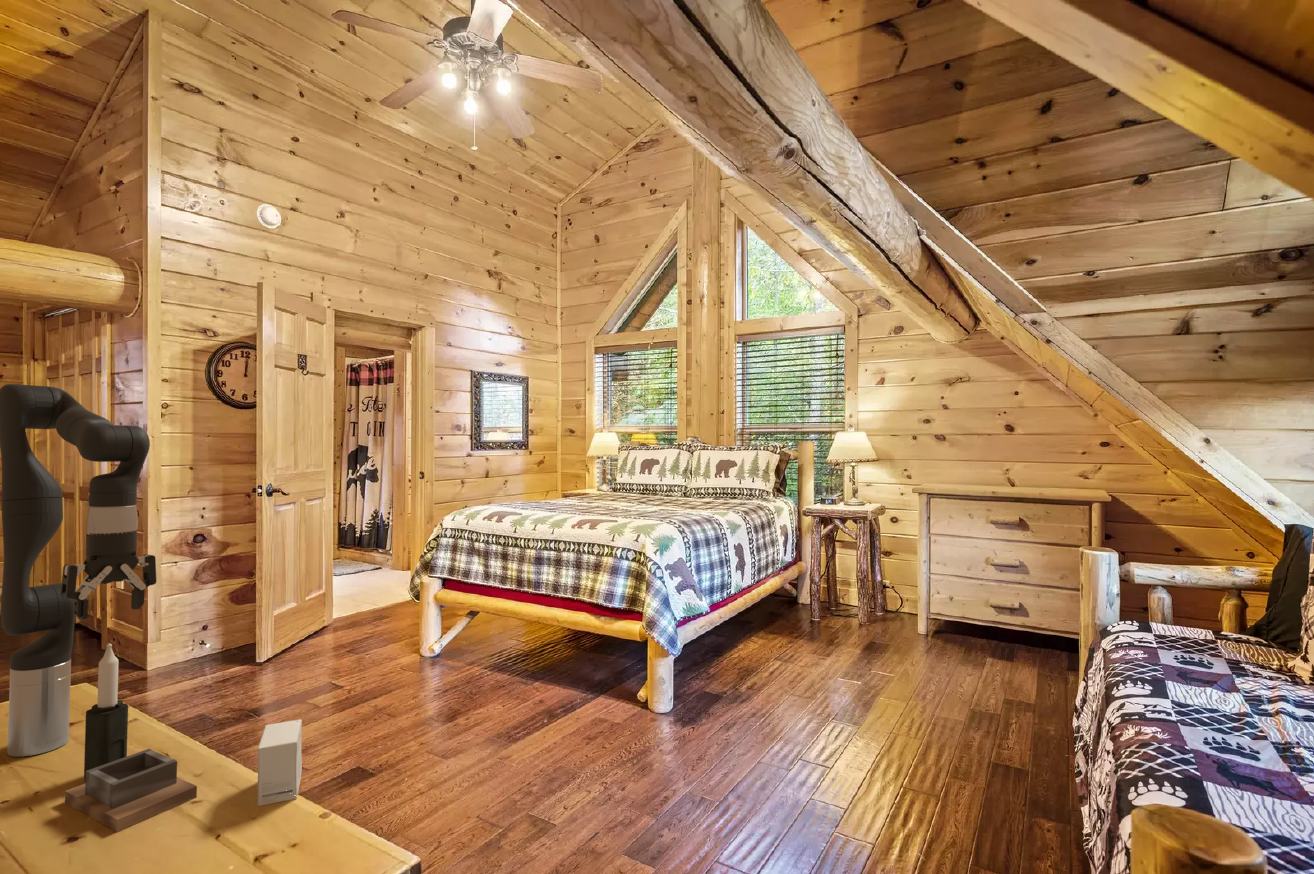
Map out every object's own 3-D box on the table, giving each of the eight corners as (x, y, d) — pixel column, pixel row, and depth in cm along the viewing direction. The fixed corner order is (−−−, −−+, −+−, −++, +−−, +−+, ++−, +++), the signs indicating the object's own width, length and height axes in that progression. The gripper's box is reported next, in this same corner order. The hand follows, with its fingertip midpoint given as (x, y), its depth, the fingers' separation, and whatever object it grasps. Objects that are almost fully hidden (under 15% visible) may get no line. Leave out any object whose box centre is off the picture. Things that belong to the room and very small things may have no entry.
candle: (102, 783, 121) (106, 648, 121) (80, 779, 122) (84, 646, 122) (129, 770, 126) (133, 640, 126) (108, 766, 127) (112, 638, 127)
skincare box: (263, 778, 124) (265, 723, 124) (302, 772, 127) (303, 718, 127) (255, 807, 114) (256, 747, 115) (296, 799, 117) (298, 740, 117)
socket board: (64, 802, 115) (65, 767, 115) (143, 772, 125) (144, 740, 125) (116, 831, 106) (118, 794, 106) (196, 797, 117) (197, 763, 117)
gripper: (144, 523, 133) (142, 603, 132) (55, 531, 120) (52, 619, 120) (164, 526, 129) (162, 608, 129) (75, 535, 116) (72, 625, 116)
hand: (109, 613), depth 124 cm, fingers open, 8 cm apart
